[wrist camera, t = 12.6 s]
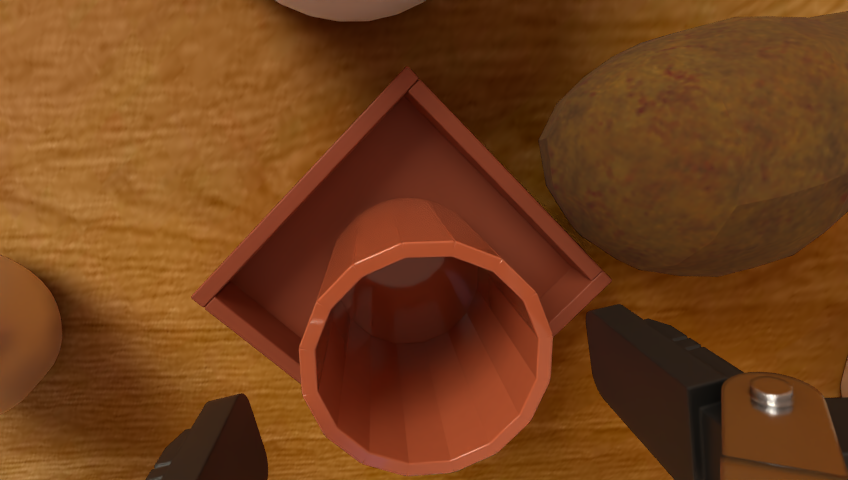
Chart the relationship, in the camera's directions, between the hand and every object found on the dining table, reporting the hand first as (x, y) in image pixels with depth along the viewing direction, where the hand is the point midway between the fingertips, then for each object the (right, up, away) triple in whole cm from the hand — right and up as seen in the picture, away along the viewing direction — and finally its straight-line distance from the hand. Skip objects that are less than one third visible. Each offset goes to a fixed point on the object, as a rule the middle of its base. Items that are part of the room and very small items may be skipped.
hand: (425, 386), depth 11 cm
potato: (+10, +7, +9) cm, 15 cm away
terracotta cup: (-1, +2, +9) cm, 9 cm away
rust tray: (-1, +2, +9) cm, 10 cm away
